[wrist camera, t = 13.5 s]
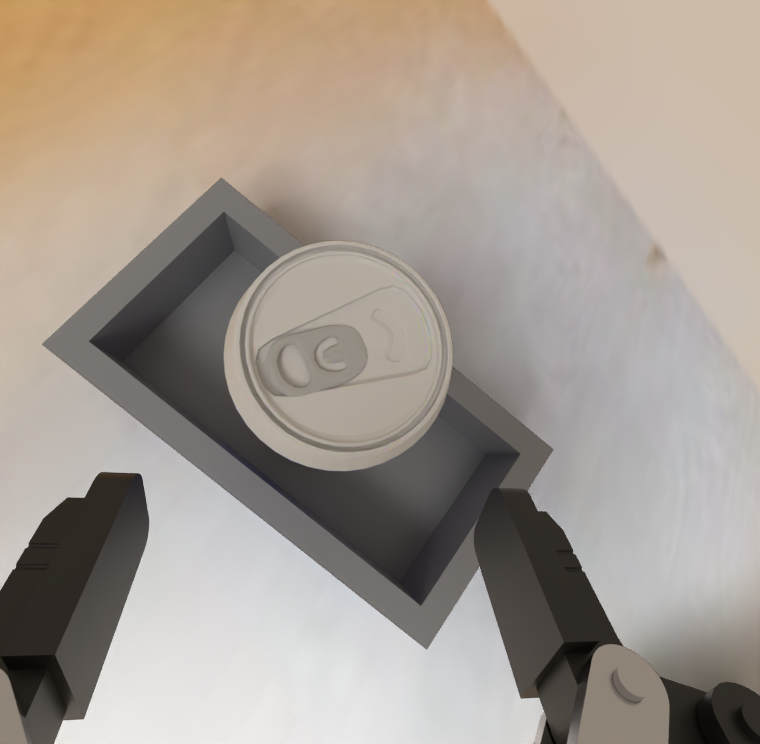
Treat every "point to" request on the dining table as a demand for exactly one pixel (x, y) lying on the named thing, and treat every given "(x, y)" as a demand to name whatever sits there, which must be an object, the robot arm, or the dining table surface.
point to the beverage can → (338, 356)
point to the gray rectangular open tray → (262, 464)
